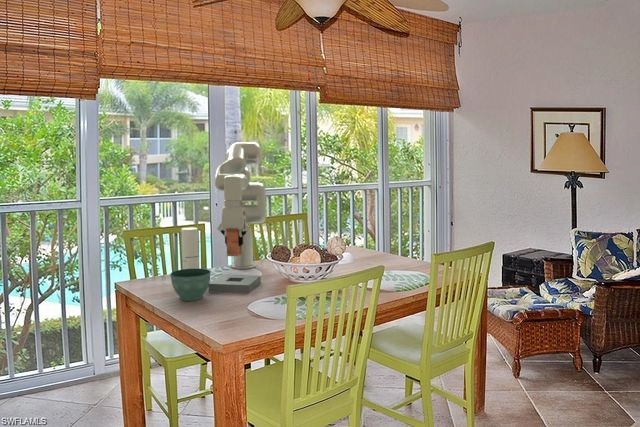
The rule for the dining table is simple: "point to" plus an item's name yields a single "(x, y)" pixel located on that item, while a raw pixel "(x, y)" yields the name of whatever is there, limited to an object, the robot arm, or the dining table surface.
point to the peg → (233, 243)
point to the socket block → (234, 283)
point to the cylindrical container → (190, 248)
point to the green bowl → (190, 283)
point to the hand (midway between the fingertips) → (234, 245)
